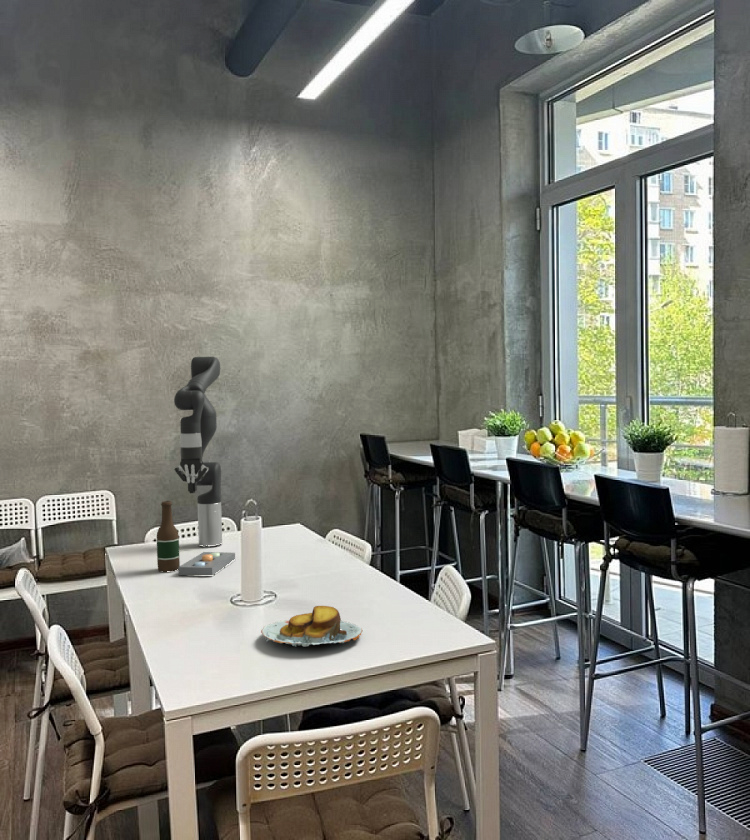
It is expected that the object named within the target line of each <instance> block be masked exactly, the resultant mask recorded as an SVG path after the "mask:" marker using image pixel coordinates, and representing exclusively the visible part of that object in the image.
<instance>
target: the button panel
mask: <svg viewBox="0 0 750 840" xmlns="http://www.w3.org/2000/svg"><path fill="white" fill-rule="evenodd" d="M216 552H217V553H220V556H219V557H213V560H212V561H202V555H206V554H210V553H216ZM216 552H215V551H213V552H212V551H203V552H201V553H199V554H198V555H196V556H194V557H193V558H191V559H189V560H188V561H186V562H183V564H181V565H180V566H179V567H178V570H177V571H178V576H179V575H214V574H215V573H216V572H218V571H219V570H221V569H222V568H223V567H225V566H226V565H227V564H229V563H230V562H231V561H232V560H234V559H235V560H236V552H224V551H223V552H218V551H216ZM195 562H205V566H194V563H195ZM221 571H222V570H221ZM218 573H219V572H218ZM214 576H215V575H214Z"/></svg>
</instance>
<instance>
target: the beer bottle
mask: <svg viewBox="0 0 750 840" xmlns="http://www.w3.org/2000/svg"><path fill="white" fill-rule="evenodd" d="M172 505H173V503H172V501H170V500H164V501H162V502H161V503H160V506H161V521H160V522H161V523H160V526H159V528H158V529H157V531H156V556H157V557H156V561H157V564H156V565H157V570H158V572H159V571H163V572H162V573H168V572H167V571H174V572H176V571H175V570H177V569H178V567H179V566H181V565H180V563H181V561H180V559H181V558H180V537H179V532H178V529H177V528H176V526H175V525H174V519H173V511H172V510H173V509H172ZM177 571H178V570H177Z"/></svg>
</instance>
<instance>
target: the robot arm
mask: <svg viewBox="0 0 750 840" xmlns="http://www.w3.org/2000/svg"><path fill="white" fill-rule="evenodd" d="M190 374H191V379H190V380H189V381H188V382H187V384H186V385H185V386H183V387H181V388H180V389H179V390H178V391H177V392H176V393H175V395H174V398H173V403H174V406H175V408H176V409H178V410H180V411H192V414H191V415H187V416H183V417H181V418H180V439H179V446H180V461H179V465H178V466H177V467H175V468H174V471H175V473H176V474H177V475H178V477H179V478H180V479H181V481H182V482H185V483H187V492H189V494H196V492H197V490H198V487H199V486H200V487H201V486H203V487H204V486H206V487H207V486H209V487H210V486H211V489H210V490H208V491H207V492H206V491H205V492H204V493H202V494H199V495H198V496H197V499H196V500H197V501H196V502H197V528H198V529H197V533H198V546H199V545H203V546H206V545H207V546H208V545H216V544H220V543H222V544H223V525H222V524H223V523H222V521H223V520H222V519H223V518H222V516H223V515H222V487H221V486H222V468H221V465H220V463H219V462H216V461H214V462H213V461H212V462H209V461H208V462H203V457H204V453H205V451H206V448H207V446H209V443H210V441H211V440H212V438H214V436H215V433H216V432H217V428H218V427H217V411H216V409H215V407H214V406H213V404H212V402H211V401H210V400H209V398H208V397H207V395H206V394H205V393H206V390H207V389H208V388H209V387H210V386H211V385H212V384H213V383H214V382H215V381H217V380H218V378H219V377H220V374H221V363H220V359H218V357H216V356H195V357H193V358H192V359H191V363H190Z"/></svg>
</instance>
